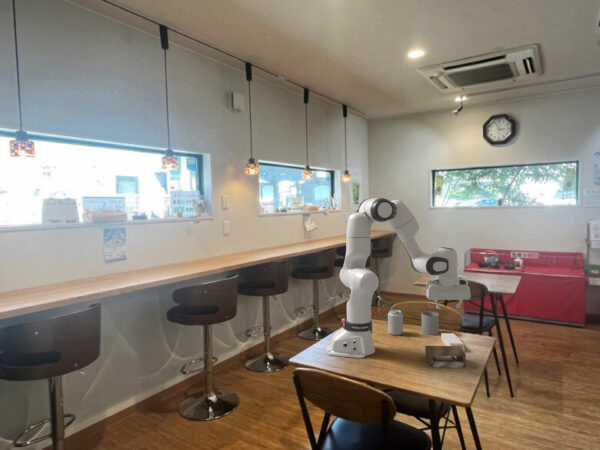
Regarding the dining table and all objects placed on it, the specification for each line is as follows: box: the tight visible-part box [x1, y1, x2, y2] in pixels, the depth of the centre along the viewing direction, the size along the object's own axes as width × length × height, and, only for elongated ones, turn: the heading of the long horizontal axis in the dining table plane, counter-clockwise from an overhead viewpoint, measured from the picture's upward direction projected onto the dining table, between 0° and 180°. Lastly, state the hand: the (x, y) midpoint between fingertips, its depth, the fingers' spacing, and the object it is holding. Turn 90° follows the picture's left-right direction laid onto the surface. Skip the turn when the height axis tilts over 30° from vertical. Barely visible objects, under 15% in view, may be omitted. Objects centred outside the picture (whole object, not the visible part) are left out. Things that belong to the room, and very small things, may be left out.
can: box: [387, 309, 404, 337], centre depth 198 cm, size 8×8×12 cm
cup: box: [420, 311, 440, 336], centre depth 198 cm, size 8×8×10 cm
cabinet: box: [424, 345, 467, 369], centre depth 160 cm, size 14×10×6 cm
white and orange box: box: [440, 332, 466, 353], centre depth 180 cm, size 6×16×3 cm, turn 174°
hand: (448, 308), depth 186 cm, fingers open, 8 cm apart
